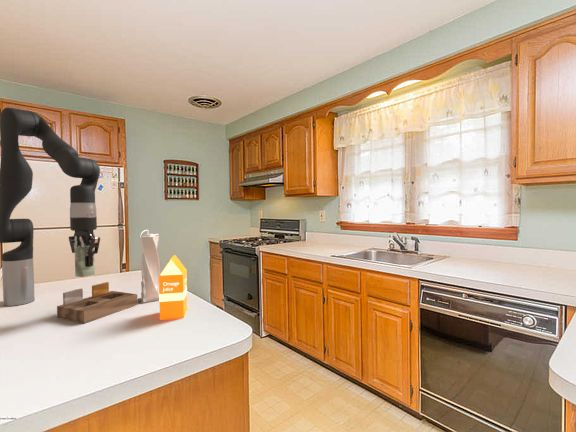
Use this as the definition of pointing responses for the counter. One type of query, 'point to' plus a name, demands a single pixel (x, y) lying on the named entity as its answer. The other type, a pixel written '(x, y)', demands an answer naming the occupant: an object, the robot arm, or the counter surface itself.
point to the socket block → (94, 303)
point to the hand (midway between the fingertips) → (85, 265)
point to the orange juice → (173, 290)
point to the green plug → (82, 263)
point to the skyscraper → (150, 268)
